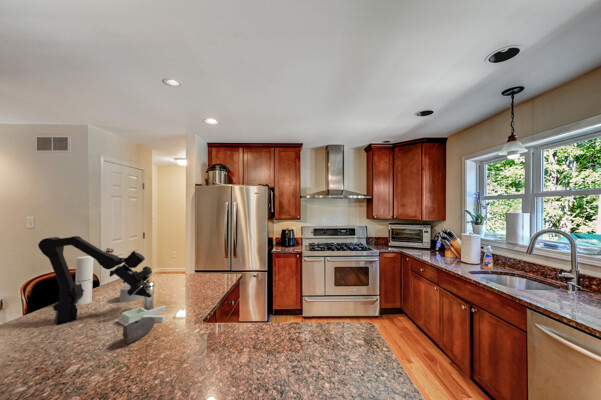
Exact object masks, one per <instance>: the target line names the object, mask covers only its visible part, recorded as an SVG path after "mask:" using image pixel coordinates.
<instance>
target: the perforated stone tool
mask: <svg viewBox="0 0 601 400" xmlns="http://www.w3.org/2000/svg"><path fill="white" fill-rule="evenodd" d="M155 323H156V322H155V319H154V318H153V317H146V318H142V319H140V320H137V321H134V322H132V323H130V324H128V325H126V326H124V325H123V326H122V337H123V338H124V339H123V342H124V343H126V344H128V345H129V344H131V343H134V342H136V341H138V340H139V339H141V338H142V337H144V336H145V335H147V334H148V333H149V332H150V331H151V330H152V329H153V328H154V326H155Z"/></svg>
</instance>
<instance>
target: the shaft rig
mask: <svg viewBox="0 0 601 400" xmlns="http://www.w3.org/2000/svg"><path fill="white" fill-rule="evenodd" d="M166 311H168V306H167V305H161V306H158V307H155V308H154V307H153V309H151V310H146V309H144V307H141V306H140V307H137V308H133V309H130V310H127V311H123V312H121V316H120V319H117V323H119V324H121V325H123V327H124V326H126V325H128V324H130V323H132V322H134V321H137V320H140V319H142V318H146V317H153V318H154V319H155V323H163V322H165V321H166V315H165V314H161V313H164V312H166Z"/></svg>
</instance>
